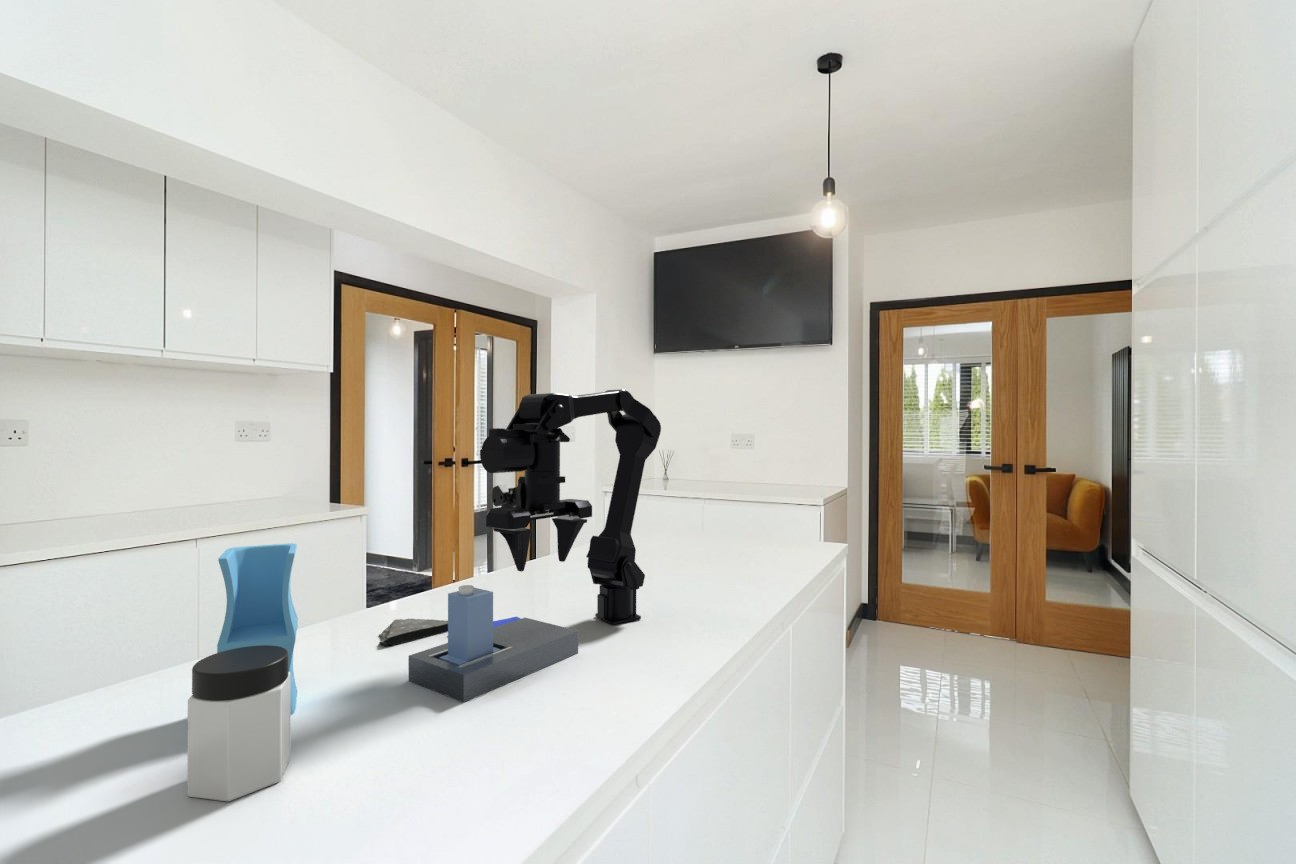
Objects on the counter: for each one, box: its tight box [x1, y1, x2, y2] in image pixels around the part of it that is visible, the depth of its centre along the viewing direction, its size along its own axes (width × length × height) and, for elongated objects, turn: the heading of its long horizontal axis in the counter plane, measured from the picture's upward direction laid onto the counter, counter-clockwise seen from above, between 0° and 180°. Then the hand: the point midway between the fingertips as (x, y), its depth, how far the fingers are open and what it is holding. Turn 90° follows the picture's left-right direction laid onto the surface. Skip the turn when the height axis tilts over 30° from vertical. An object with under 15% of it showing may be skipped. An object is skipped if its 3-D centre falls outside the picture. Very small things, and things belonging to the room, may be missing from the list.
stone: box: [378, 618, 448, 646], centre depth 108 cm, size 13×10×2 cm
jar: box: [186, 645, 291, 803], centre depth 62 cm, size 9×8×12 cm
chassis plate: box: [408, 617, 579, 703], centre depth 92 cm, size 22×12×4 cm, turn 145°
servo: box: [439, 584, 501, 666], centre depth 88 cm, size 7×4×13 cm, turn 144°
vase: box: [216, 542, 299, 716], centre depth 77 cm, size 8×8×20 cm
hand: (542, 566), depth 101 cm, fingers open, 9 cm apart
